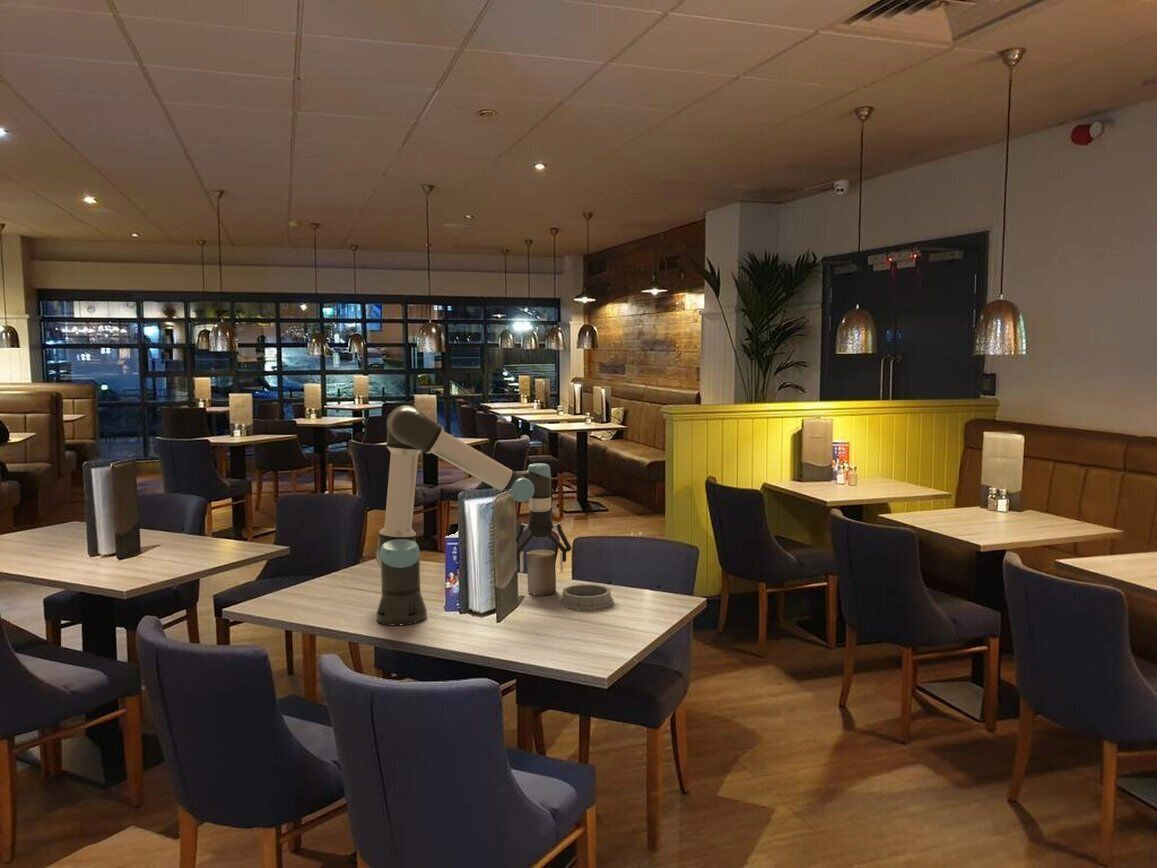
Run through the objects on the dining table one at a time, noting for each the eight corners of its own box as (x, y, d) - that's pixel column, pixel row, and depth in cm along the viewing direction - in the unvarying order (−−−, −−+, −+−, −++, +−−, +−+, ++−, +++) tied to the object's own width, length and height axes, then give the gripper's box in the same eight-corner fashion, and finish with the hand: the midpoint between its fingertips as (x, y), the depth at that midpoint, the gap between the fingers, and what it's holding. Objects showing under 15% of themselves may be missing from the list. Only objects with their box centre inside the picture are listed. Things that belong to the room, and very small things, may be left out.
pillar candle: (557, 588, 291) (556, 545, 290) (554, 596, 281) (553, 552, 280) (529, 588, 292) (528, 545, 291) (525, 596, 282) (524, 552, 281)
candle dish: (612, 610, 265) (612, 598, 264) (558, 610, 266) (558, 597, 265) (613, 595, 282) (613, 583, 281) (562, 595, 283) (562, 583, 282)
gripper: (577, 507, 287) (579, 568, 289) (505, 507, 289) (506, 568, 290) (576, 511, 280) (577, 574, 281) (501, 511, 281) (503, 574, 283)
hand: (541, 571), depth 286 cm, fingers open, 13 cm apart
